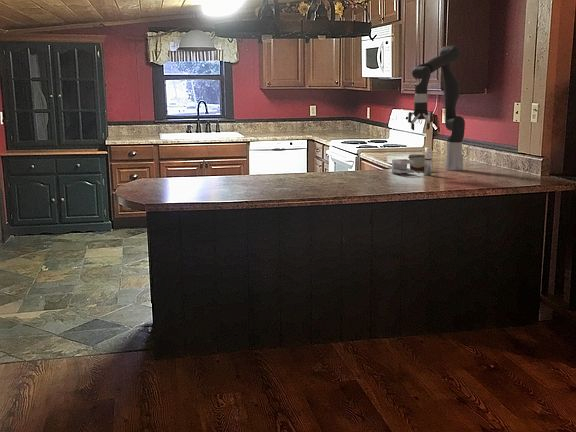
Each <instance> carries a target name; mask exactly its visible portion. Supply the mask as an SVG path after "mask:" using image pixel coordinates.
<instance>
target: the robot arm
mask: <svg viewBox="0 0 576 432" xmlns="http://www.w3.org/2000/svg"><path fill="white" fill-rule="evenodd" d="M461 55H462V54H461V48H460V47H459V46H458V45H446V46H442V47H441V48H440V50H439V56H436V57H433V58H431V59H429V60H427V61H426V62H424V63H421V64H418V65H416V66H414V68H413V69H412V72H411V75H412V77H413V78H414V79H417V80H420V82H418V83H416V84H415V85H414V99H413V100H414V103H413V112H411V111H409V112H408V116H407V122H408V123H409V124H410V129H411V131H415V122H416V121H417V120H425V122H426V130H427V131H429V129H430V128H431V126H430V125H431V123H433V122H434V111H428V104H429V103H428V102H429V99H428V85H429V82H430V79H431V74H433V73H434V72H436V71H437V70H439V69H440V68H441V71H442V81H443V94H444V107H445V108H444V109H445V110H444V126H445V128H446V130H448V131H451V134H450V135H449V136H448V137H447V138H446V156H445V158H446V159H445V160H446V161H445V170H446V171H462V170H463V169H464V168H463V167H464V154H463V140H464V137H465V129H466V122H465V119H464V117H462V116H460V115H457V114H456V111H457V110H456V108H457V104H458V100H459V98H460V90H461V89H460V82H459V80H458V78H457V77H456V75H455V73H454V72H453V71H452V68H451V63H453V62H455V61H458V60H459V59H460V57H461ZM412 116H413V118H412ZM427 116H429V118H428V117H427Z"/></svg>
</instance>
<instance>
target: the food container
mask: <svg viewBox="0 0 576 432" xmlns="http://www.w3.org/2000/svg"><path fill="white" fill-rule="evenodd" d="M407 159H408V160H413V161H415V163H414V164H409V169H411V170H414V172H424V166H425V153H424V154H423V153H421V154H419V153H418V154H416V153H415V154H414V153H413V154H409V155H408V158H407Z"/></svg>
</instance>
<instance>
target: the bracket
mask: <svg viewBox="0 0 576 432" xmlns="http://www.w3.org/2000/svg"><path fill="white" fill-rule="evenodd" d="M414 163H415V161H413V160H409V158H407V159H406V158H402V159H401V158H399V159H391V171H390V174H391V173H392V174H391V175H402V174H401V173H407V174H415V171H414V170H411V169H410V168H408V165H410V164H414Z"/></svg>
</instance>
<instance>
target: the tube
mask: <svg viewBox="0 0 576 432" xmlns="http://www.w3.org/2000/svg"><path fill="white" fill-rule="evenodd" d="M424 155H425V166H424V171H423V172H424V173H423V175H424V176H426V177H427V176H428V177H430V176H432V166H433V165H432V163H433V161H432V160H433V158H432V157H433V147H424Z"/></svg>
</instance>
